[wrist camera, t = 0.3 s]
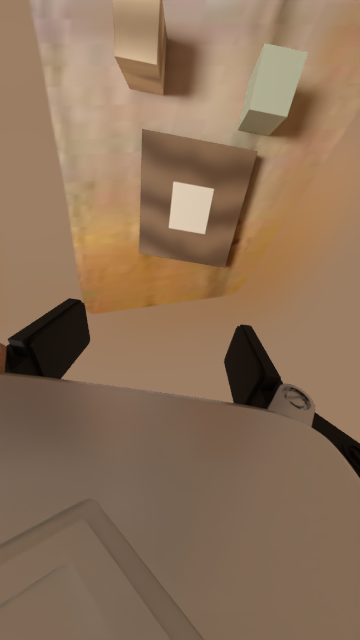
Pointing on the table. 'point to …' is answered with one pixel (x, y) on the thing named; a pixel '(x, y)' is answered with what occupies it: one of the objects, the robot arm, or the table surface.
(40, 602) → the robot arm
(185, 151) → the walnut board
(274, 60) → the sage block
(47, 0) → the table surface
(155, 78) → the maple block
